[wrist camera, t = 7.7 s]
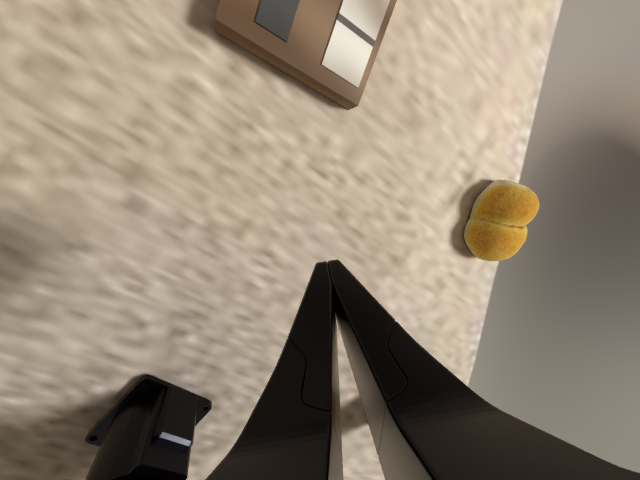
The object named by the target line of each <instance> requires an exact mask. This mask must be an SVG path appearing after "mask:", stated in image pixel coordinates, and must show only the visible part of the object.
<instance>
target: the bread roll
mask: <svg viewBox="0 0 640 480" xmlns="http://www.w3.org/2000/svg"><path fill="white" fill-rule="evenodd" d="M538 209H539V200H538V197H537V196H536V194H535V193H534V192H533V191H531V190H530V189H529V188H528V187H527V186H524V185H520V184H518V183H515V182H511V181H506V180H496V181H494V182H492V183H491V184H489V185H488V186H487V187H486V188H485V189H484V190H483V191H482V192H481V193H480V195H479V196H478V197H477V198H476V200H475V203H474V205H473V207H472V211H471V214H470V219H469V220H468V222H467V224H466V227H465V231H464V239H465V242H466V244H467V246H468V247H469V249H470V250H471V252H472V253H473V254H474V255H475V256H476V257H478V258H479V259H482V260H487V261H500V260H505V259H507V258H509V257H511V256H513V255H514V254H516V253H517V251H518V250H519V249H520V248H521V246H522V245H523V243H524V242H525V240H526V237H527V227H526V224H528V223H529V222H530V221H531V220H532V219H533V218H534V217H535V215H536V214H537V212H538Z"/></svg>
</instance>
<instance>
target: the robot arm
mask: <svg viewBox="0 0 640 480" xmlns="http://www.w3.org/2000/svg"><path fill="white" fill-rule="evenodd" d="M335 314H336V315H335ZM336 318H337V322H338V326H339V329H340V332H341V336H342V339H343V342H344V345H345V349H346V352H347V355H348V358H349V362H350V365H351V368H352V372H353V375H354V378H355V381H356V385H357V388H358V391H359V395H360V398H361V401H362V404H363V408H364V411H365V414H366V418H367V421H368V424H369V427H370V431H371V434H372V437H373V440H374V444H375V447H376V450H377V454H378V455H379V460H380V464H381V467H382V470H383V473H384V477H385V480H640V473H637V472H634V471H631V470H627V469H625V468H621V467H618V466H616V465H614V464H612V463H609V462H607V461H605V460H602V459H600V458H598V457H596V456H594V455H592V454H590V453H588V452H585V451H584V450H582V449H580V448H578V447H576V446H573V445H571V444H569V443H567V442H565V441H563V440H561V439H559V438H557V437H555V436H553V435H551V434H549V433H547V432H545V431H542V430H540V429H538V428H536V427H534V426H532V425H530V424H528V423H526V422H524V421H521V420H520V419H518V418H516V417H513V416H511V415H509V414H507V413H505V412H503V411H501V410H499V409H498V408H496V407H494V406H492V405H491V404H490V403H488V402H487V401H485V400H484V399H482V398H481V397H480V396H478V395H477V394H476V393H475V392H473V391H472V390H471V389H470V388H469V387H467V386H466V385H465V384H464V383H463V382H462V381H461V380H459V379H458V378H457V377H456V376H455V375H454V374H452V373H451V372H450V371H449V370H448V369H447V368H445V367H444V366H443V365H442V364H441V363H440V362H438V361H437V360H436V359H435V358H434V357H433V356H432V355H430V354H429V353H428V352H427V351H426V350H425V349H424V348H423V347H422V346H420V345H419V344H418V343H417V342H416V341H415V340H414V339H413V338H412V337H411V336H410V335H409V334H408V333H407V332H406V331H405V330H404V329H403V328H402V327H401V326H400V324H399V323H398V322H395V319H394V318H393V317H392V316H391V315H390V314H389V313H388V312H387V311H386V310H385V309H384V308H383V307H382V305H381V304H380V303H379V302H378V301H377V300H376V299H375V298H374V297H373V296H372V295H371V294H370V293H369V292H368V291H367V289H366V288H365V287H364V286H363V285H362V284H361V283H360V282H359V281H358V280H357V279H356V278H355V277H354V276H353V275H352V273H351V272H350V271H349V270H348V269H347V268H346V267H345V266H344V265H343V264H342V263H341V262H340V261H339V260H331V261H328V263H327V262H326V261H324V262H318V263H316V265H315V267H314V270H313V273H312V275H311V278H310V281H309V283H308V286H307V288H306V291H305V294H304V296H303V299H302V302H301V304H300V307H299V309H298V312H297V315H296V317H295V320H294V323H293V325H292V328H291V330H290V333H289V336H288V339H287V341H286V343H285V346H284V348H283V351H282V353H281V356H280V358H279V360H278V363H277V365H276V367H275V369H274V371H273V373H272V375H271V377H270V379H269V382H268V383H267V385H266V387H265V389H264V391H263V393H262V395H261V397H260V399H259V401H258V403H257V405H256V406H255V408H254V410H253V412H252V414H251V416H250V418H249V420H248V422H247V424H246V426H245V427H244V429H243V431H242V433H241V435H240V436H239V438H238V440H237V441H236V443H235V444H234V446H233V447H232V449H231V450H230V451H229V453H228V454H227V455H226V457H225V458H224V459H223V460H222V461H221V463H220V464H219V465H218V466H217V467H216V468H215V469H214V471H213V472H212V473H211V474H210V475H209V476H208V477H207V479H206V480H343V464H342V440H341V417H340V394H339V372H338V349H337V326H336ZM145 382H149V383H145ZM204 406H207V407H204ZM211 407H212V402H211V401H210V400H208V399H205V398H203V397H201V396H198V395H196V394H194V393H191V392H189V391H187V390H184V389H182V388H180V387H177V386H175V385H173V384H170V383H168V382H166V381H163V380H161V379H159V378H156V377H154V376H151V375H146V376H143V377H142V378H141V379H140V380H139V381H138V382H137V383H136V384H135V385H134V386H133V387H132V388H131V389H130V390H129V391H128V392H127V393H126V394H125V395H124V396H123V397H122V398H121V399H120V400H119V401H118V402H117V403H116V405H115V406H114V407H113V408H112V409H111V410H110V411H109V412H108V413H107V414H106V415H105V416H104V417H103V418H102V419H101V420H100V421H99V422H98V423H97V424H96V425H95V426H94V427H93V428H92V429H91V430H90V431H89V432H88V434H87V436H86V438H85V441H86V442H87V443H89V444H93V445H97V446H100V448H99V450H98V453H97V455H96V457H95V459H94V461H93V464H92V466H91V468H90V470H89V473H88V475H87V477H86V479H85V480H186V479H187V475H188V467H189V459H190V451H191V446H192V445H193V439H194V431H195V426H196V425H197V424H198V423H199V421H200V420H201V419H202V418H203V417H204V416H205V415H206V414H207V413H208V412H209V411H210V410H211Z"/></svg>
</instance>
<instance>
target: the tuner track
mask: <svg viewBox="0 0 640 480" xmlns="http://www.w3.org/2000/svg"><path fill="white" fill-rule="evenodd" d="M396 1H397V0H220V1H219V4H218V8H217V12H216V16H215V29H216V32H217V33H219V34H220V35H222V36H224V37H226V38H227V39H229V40H231V41H232V42H234V43H236V44H237V45H239V46H241V47H243V48H244V49H246V50H248V51H249V52H251V53H253V54H254V55H256V56H258V57H260V58H261V59H263V60H265V61H266V62H268V63H270V64H272V65H273V66H275V67H277V68H278V69H280V70H282V71H283V72H285V73H287V74H289V75H290V76H292V77H294V78H295V79H297V80H299V81H300V82H302V83H304V84H306V85H307V86H309V87H311V88H312V89H314V90H316V91H318V92H319V93H321V94H323V95H324V96H326V97H328V98H329V99H331V100H333V101H335V102H336V103H338V104H340V105H341V106H343V107H345V108H346V109H348V110H350V109H352V108H354V107H356V106H358V104H359V102H360V99H361V96H362V94H363V91H364V88H365V85H366V83H367V80H368V77H369V74H370V72H371V69H372V66H373V64H374V61H375V58H376V55H377V53H378V50H379V47H380V44H381V42H382V39H383V36H384V34H385V31H386V28H387V25H388V23H389V20H390V17H391V15H392V12H393V9H394V6H395V4H396Z"/></svg>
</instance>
